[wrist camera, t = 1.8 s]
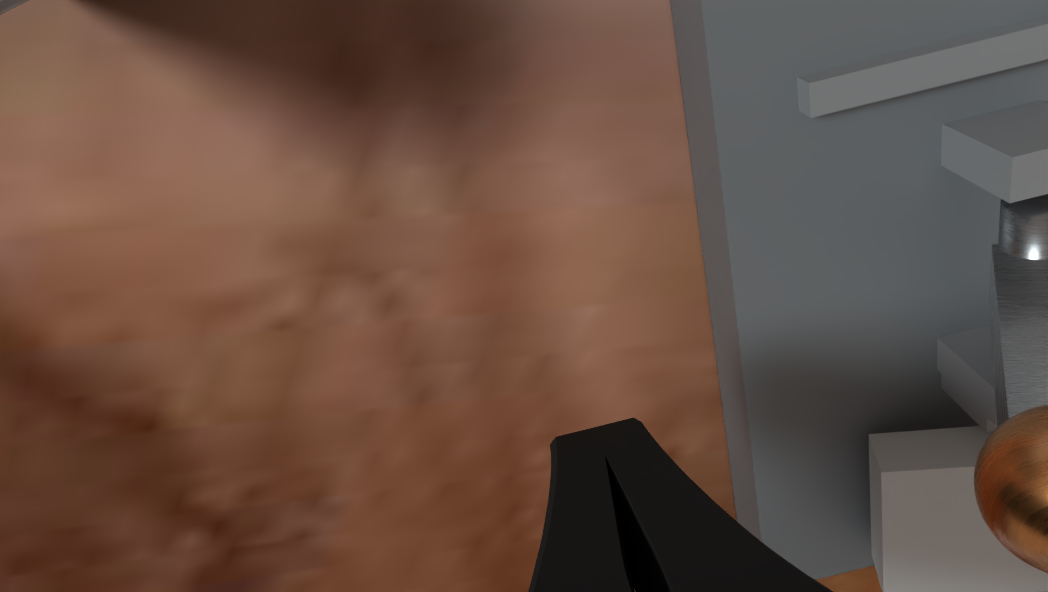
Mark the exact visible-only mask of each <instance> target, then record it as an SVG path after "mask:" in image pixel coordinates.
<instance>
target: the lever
mask: <svg viewBox="0 0 1048 592" xmlns="http://www.w3.org/2000/svg"><path fill="white" fill-rule="evenodd" d="M988 316H989V329H990V341H991V354H992V366H993V378H994V391H995V403H996V416H997V429H995V430H994V431H993V432H992V434H991V435H990V436H989V437H988V438H987V440H986V442H985V443H984V445H983V447H982V448H981V450H980V452H979V455H978V458H977V461H976V464H975V470H974V492H975V498H976V502H977V505H978V508H979V511H980V513H981V515H982V518H983V520H984V521H985V523H986V525H987V526H988V528H989V529H990V531H991V532H992V534H993V535H994V536H995V537H996V538H997V539H998V541H999V542H1000V543H1001V544H1002V545H1003V546H1004V547H1005V548H1006V549H1007V550H1008V551H1010V552H1011V553H1012V554H1014V555H1015V556H1016V557H1018V558H1019V559H1020V560H1022V561H1023V562H1025V563H1027V564H1029V565H1030V566H1032V567H1034V568H1037V569H1039V570H1041V571H1043V572H1046V573H1048V194H1045V195H1041V196H1037V197H1033V198H1029V199H1025V200H1021V201H1017V202H1013V203H1008V202H1006V201H1004V200H1003V199H1001V202H1000V219H999V236H998V244H992V246H991V265H990V284H989V302H988Z"/></svg>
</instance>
